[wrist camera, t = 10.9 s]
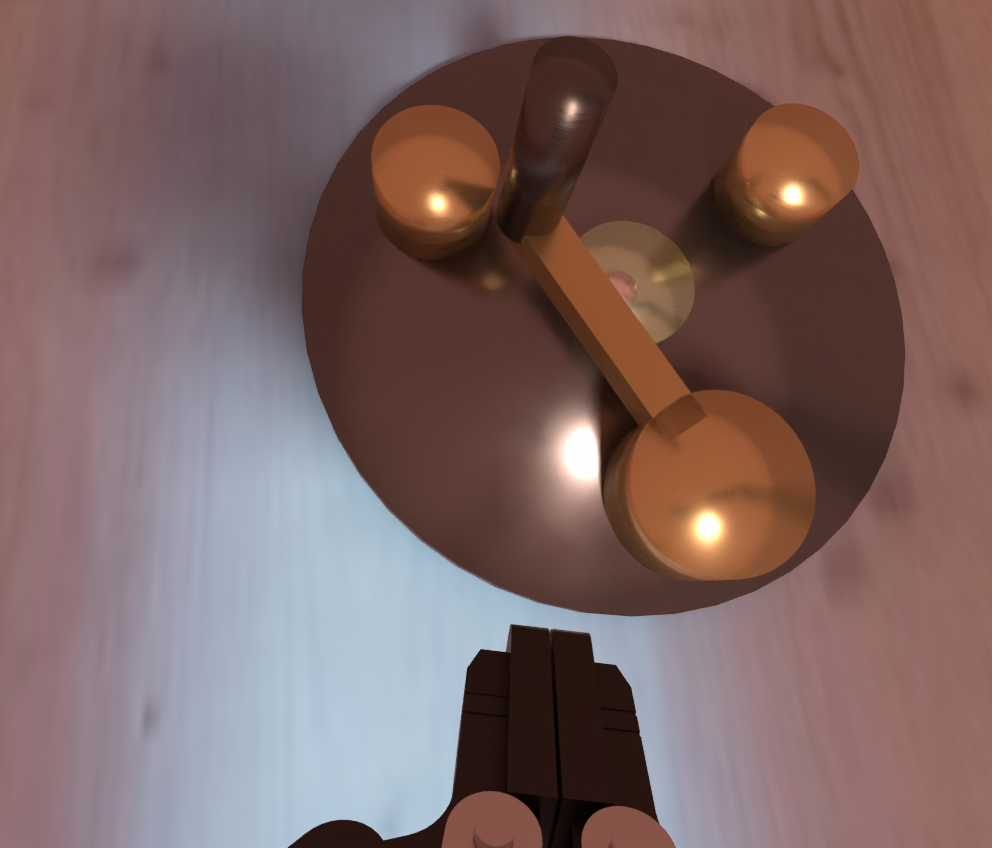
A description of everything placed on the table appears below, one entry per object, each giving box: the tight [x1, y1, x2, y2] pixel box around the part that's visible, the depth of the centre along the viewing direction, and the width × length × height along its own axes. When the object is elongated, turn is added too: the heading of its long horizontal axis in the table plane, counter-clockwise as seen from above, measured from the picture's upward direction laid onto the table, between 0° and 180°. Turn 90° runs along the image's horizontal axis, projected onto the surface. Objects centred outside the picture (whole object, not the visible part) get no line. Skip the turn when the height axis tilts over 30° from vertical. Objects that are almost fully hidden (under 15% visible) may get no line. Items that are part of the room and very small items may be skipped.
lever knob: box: [496, 37, 816, 581], centre depth 20 cm, size 15×6×9 cm, turn 34°
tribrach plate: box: [302, 38, 905, 616], centre depth 25 cm, size 24×24×4 cm
